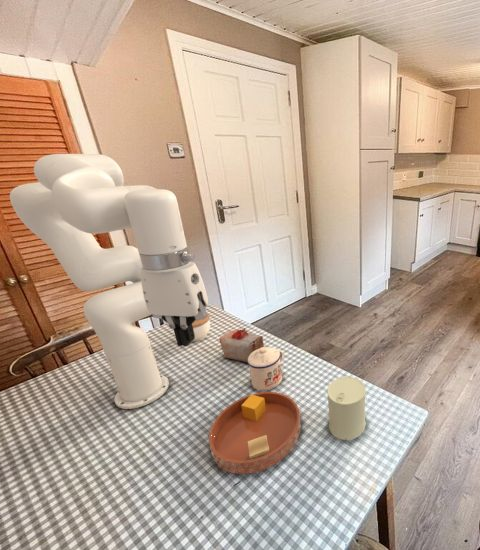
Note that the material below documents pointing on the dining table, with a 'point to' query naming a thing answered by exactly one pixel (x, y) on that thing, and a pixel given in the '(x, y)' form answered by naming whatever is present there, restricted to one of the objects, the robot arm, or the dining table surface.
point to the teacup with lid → (265, 368)
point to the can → (346, 407)
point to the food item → (240, 344)
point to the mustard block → (253, 407)
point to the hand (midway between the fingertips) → (186, 342)
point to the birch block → (258, 447)
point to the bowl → (254, 434)
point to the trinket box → (201, 328)
